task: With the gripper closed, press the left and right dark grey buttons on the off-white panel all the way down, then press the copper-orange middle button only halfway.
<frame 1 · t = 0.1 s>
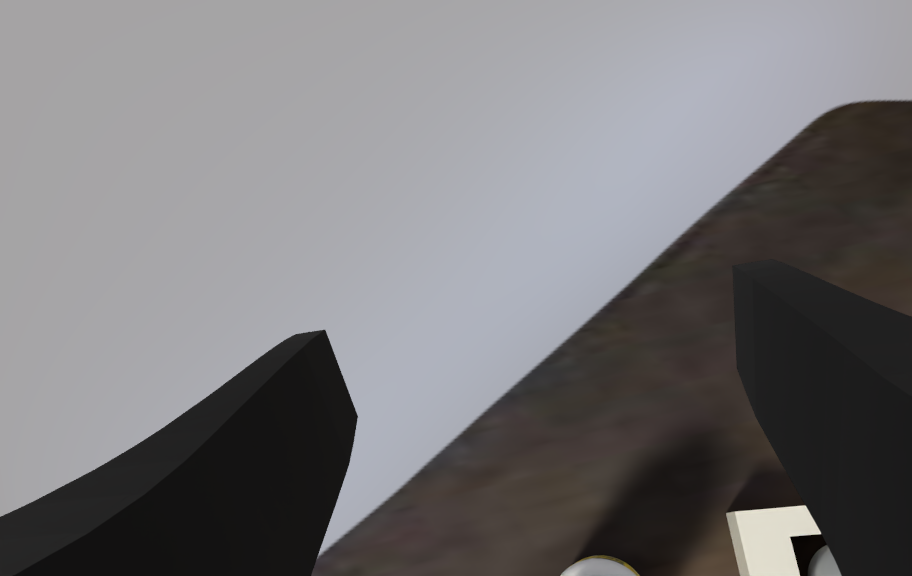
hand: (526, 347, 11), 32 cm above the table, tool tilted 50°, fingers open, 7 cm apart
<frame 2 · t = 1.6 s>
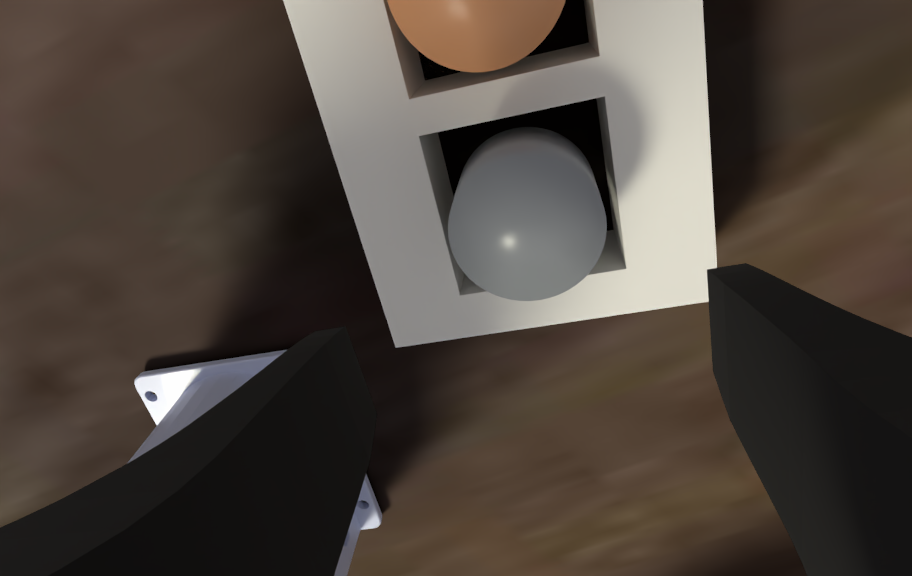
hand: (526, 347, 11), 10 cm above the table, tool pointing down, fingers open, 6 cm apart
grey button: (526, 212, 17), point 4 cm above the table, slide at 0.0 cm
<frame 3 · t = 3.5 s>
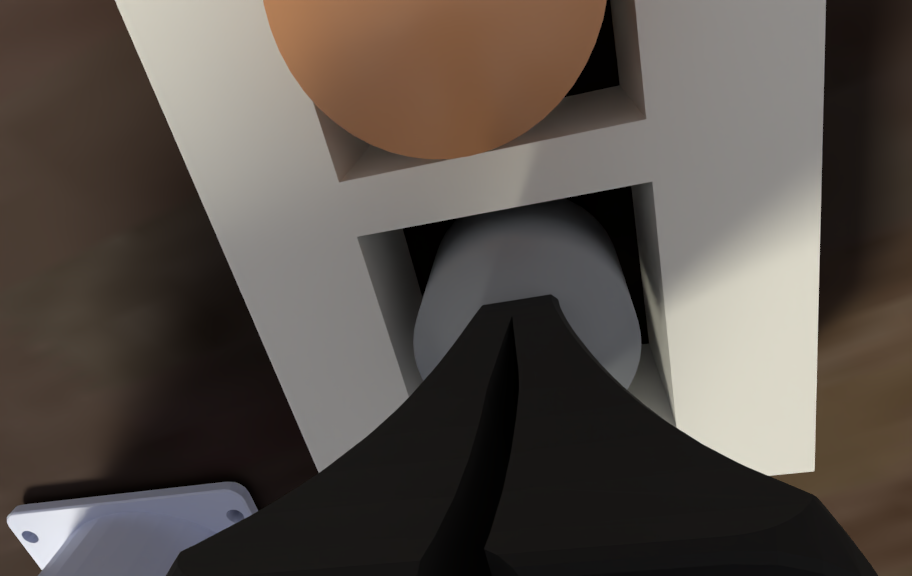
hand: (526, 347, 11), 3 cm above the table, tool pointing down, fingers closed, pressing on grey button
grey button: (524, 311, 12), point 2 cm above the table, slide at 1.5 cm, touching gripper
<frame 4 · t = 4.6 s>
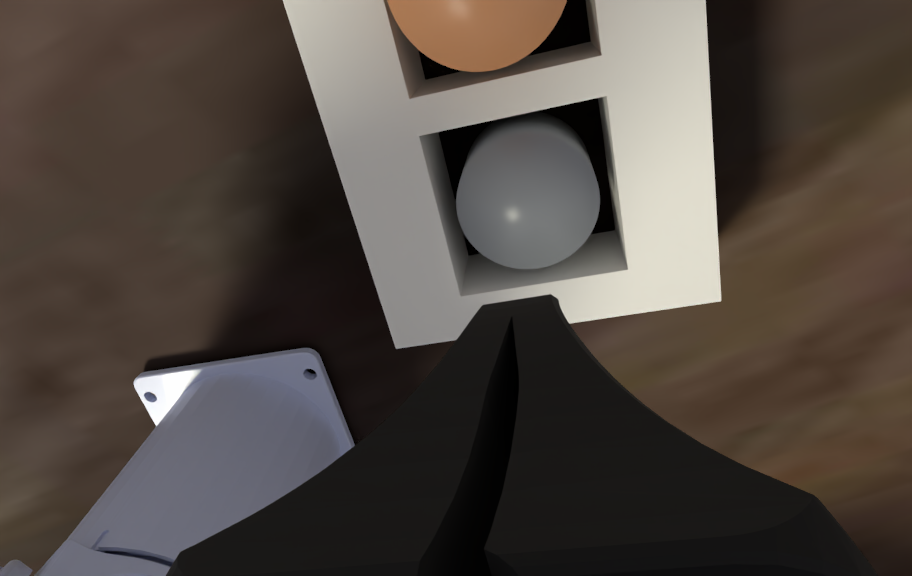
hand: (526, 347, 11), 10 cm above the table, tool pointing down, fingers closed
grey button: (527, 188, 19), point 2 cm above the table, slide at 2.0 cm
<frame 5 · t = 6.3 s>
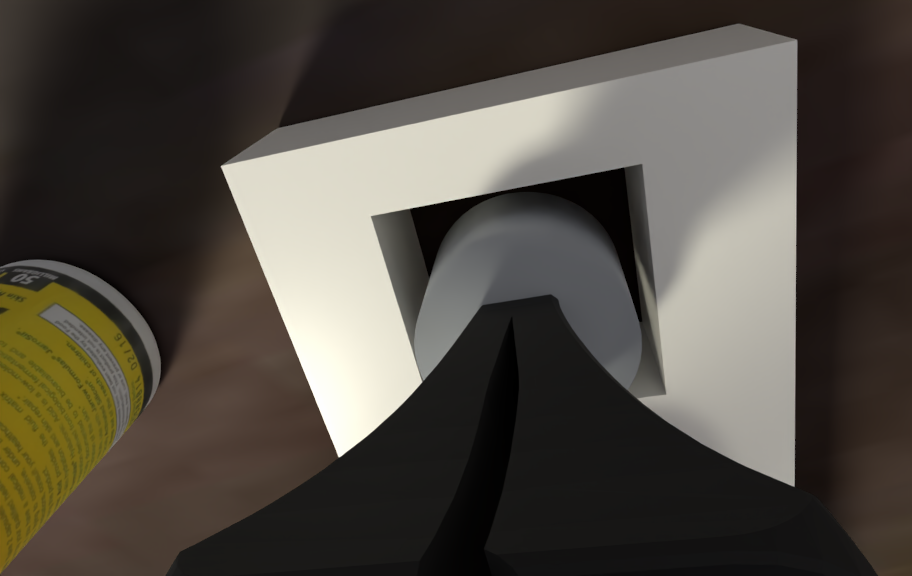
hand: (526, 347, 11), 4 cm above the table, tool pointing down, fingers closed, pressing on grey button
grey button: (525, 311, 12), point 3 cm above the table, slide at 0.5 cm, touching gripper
supplement bottle: (78, 335, 18), on the table
button panel: (563, 440, 18), on the table
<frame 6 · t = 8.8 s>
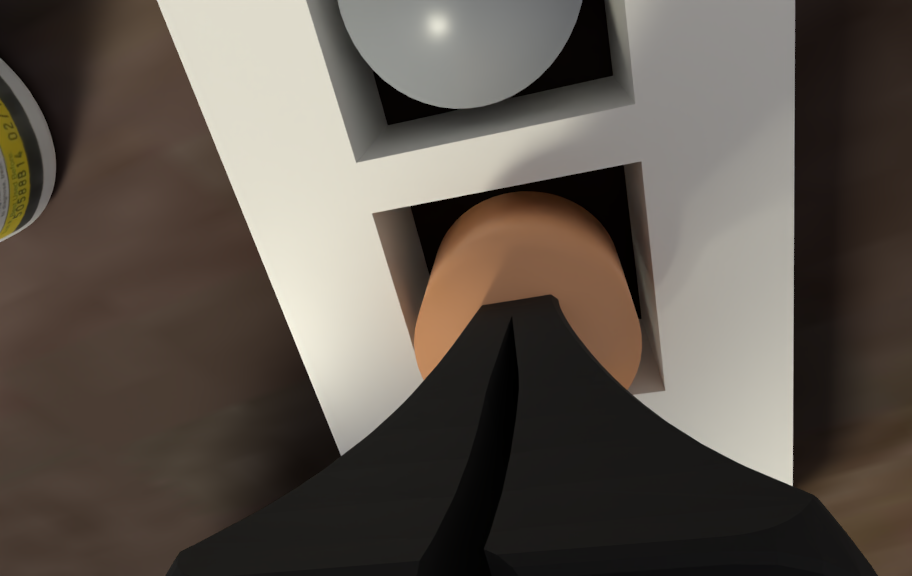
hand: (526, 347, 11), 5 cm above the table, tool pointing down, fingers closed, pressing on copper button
button panel: (525, 246, 15), on the table
copper button: (525, 311, 12), point 3 cm above the table, slide at 0.4 cm, touching gripper
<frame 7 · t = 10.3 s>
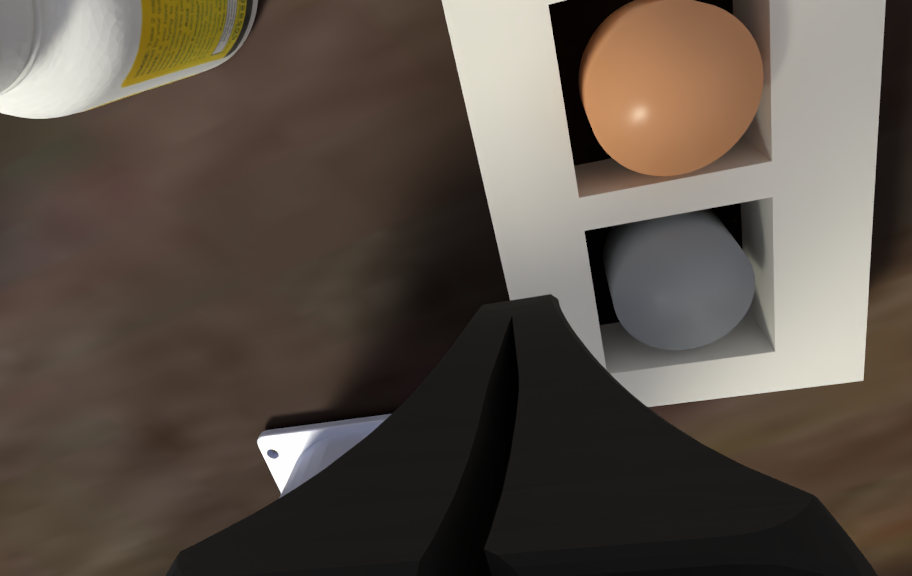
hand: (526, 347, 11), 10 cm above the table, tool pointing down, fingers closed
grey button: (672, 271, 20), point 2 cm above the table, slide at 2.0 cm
button panel: (644, 67, 18), on the table
copper button: (662, 83, 16), point 3 cm above the table, slide at 0.9 cm
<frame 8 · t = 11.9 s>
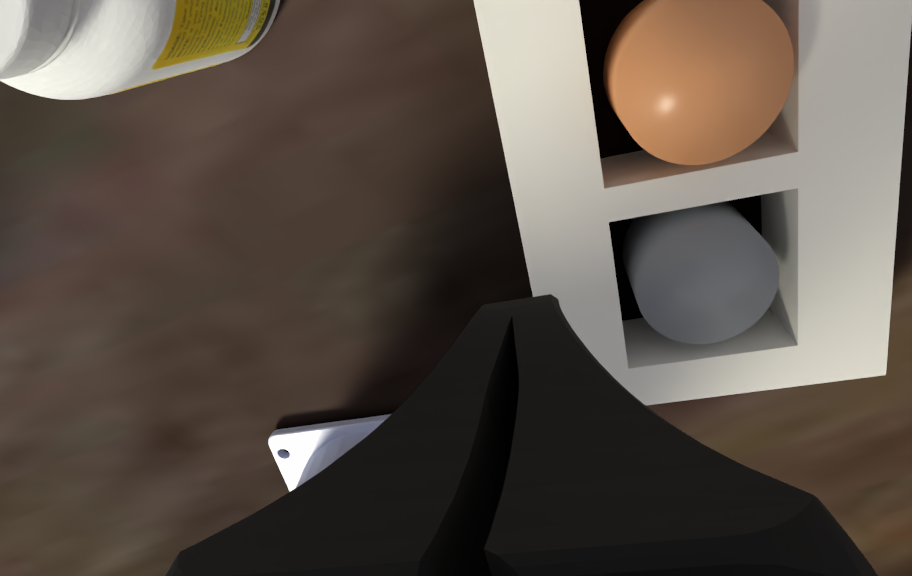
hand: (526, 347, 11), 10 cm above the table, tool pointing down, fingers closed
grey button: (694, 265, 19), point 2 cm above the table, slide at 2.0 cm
button panel: (667, 60, 18), on the table
copper button: (689, 73, 16), point 3 cm above the table, slide at 0.9 cm
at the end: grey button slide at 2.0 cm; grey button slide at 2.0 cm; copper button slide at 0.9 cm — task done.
